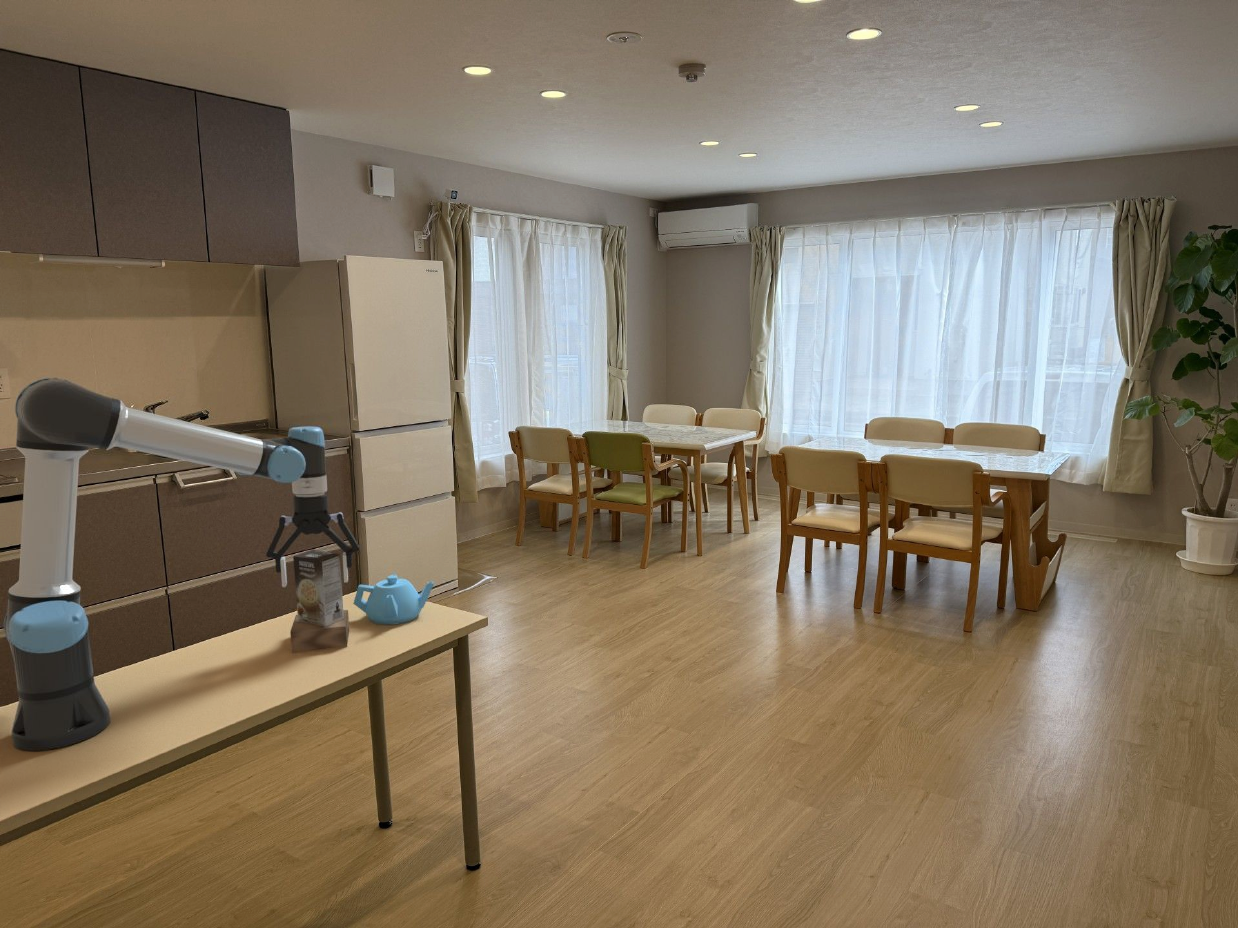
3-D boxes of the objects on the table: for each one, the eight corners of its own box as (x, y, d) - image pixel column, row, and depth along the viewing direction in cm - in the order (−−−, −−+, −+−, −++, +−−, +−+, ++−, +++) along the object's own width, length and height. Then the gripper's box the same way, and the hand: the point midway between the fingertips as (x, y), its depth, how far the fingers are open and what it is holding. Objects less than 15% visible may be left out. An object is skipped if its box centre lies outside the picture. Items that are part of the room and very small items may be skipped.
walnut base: (292, 652, 192) (290, 631, 191) (297, 634, 203) (295, 614, 203) (347, 646, 195) (345, 626, 194) (349, 629, 207) (348, 609, 206)
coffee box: (296, 621, 198) (290, 555, 195) (316, 613, 203) (311, 549, 201) (325, 627, 194) (320, 559, 191) (345, 618, 199) (341, 552, 197)
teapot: (398, 603, 226) (395, 564, 224) (437, 613, 217) (435, 572, 216) (351, 620, 213) (348, 579, 212) (391, 631, 205) (388, 588, 203)
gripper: (249, 499, 187) (255, 592, 190) (366, 493, 193) (370, 583, 196) (254, 493, 194) (260, 582, 197) (367, 488, 200) (371, 574, 204)
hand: (315, 583), depth 197 cm, fingers open, 13 cm apart
